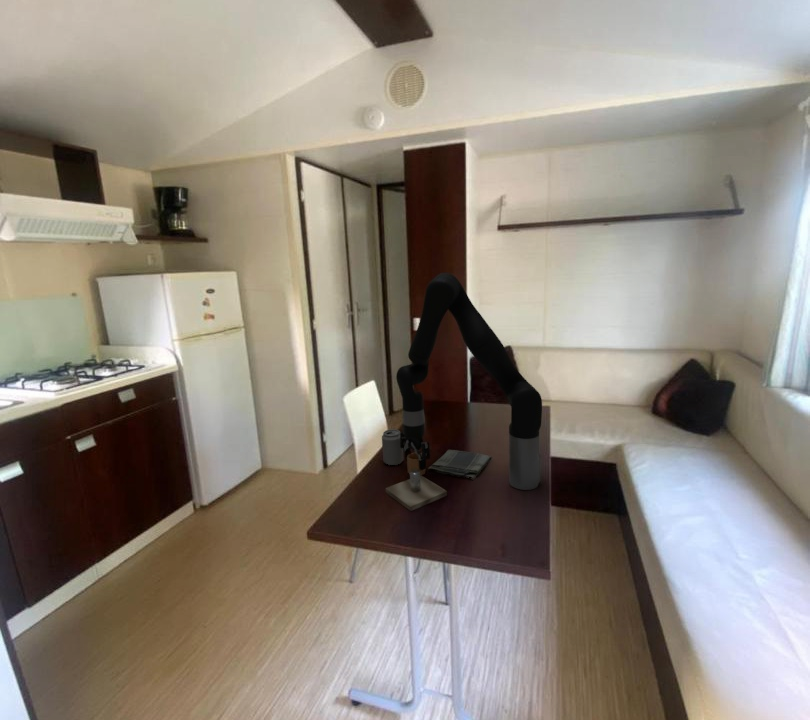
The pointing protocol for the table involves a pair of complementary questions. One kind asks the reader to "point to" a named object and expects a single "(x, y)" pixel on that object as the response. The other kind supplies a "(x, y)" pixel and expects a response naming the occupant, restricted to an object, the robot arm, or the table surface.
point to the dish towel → (460, 463)
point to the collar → (414, 463)
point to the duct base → (416, 493)
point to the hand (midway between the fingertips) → (415, 465)
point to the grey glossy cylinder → (415, 481)
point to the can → (392, 447)
